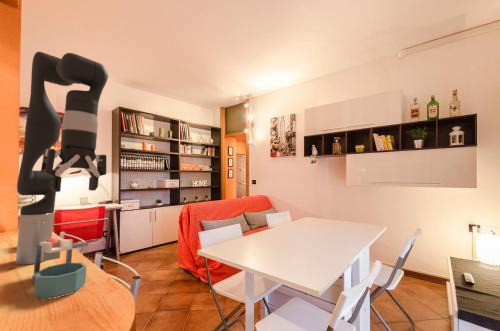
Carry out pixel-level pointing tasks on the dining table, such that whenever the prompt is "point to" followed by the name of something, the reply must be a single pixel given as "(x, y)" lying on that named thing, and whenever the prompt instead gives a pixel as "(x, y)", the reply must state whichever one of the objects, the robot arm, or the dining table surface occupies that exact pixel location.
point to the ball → (53, 241)
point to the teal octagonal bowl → (59, 280)
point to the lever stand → (38, 259)
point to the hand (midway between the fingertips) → (75, 191)
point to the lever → (58, 248)
